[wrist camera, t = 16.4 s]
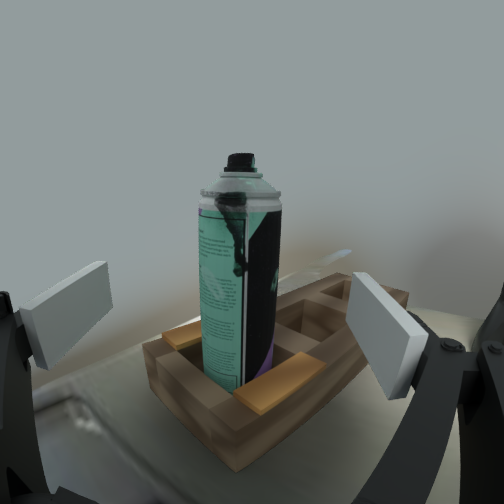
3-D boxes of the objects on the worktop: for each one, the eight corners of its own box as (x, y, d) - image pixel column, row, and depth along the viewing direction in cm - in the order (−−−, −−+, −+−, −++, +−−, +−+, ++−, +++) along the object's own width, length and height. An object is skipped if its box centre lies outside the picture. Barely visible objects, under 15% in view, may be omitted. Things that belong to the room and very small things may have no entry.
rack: (401, 325, 36) (410, 289, 35) (236, 473, 15) (235, 426, 14) (333, 302, 45) (337, 269, 43) (150, 388, 24) (141, 339, 22)
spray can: (276, 415, 21) (297, 153, 16) (211, 425, 20) (204, 148, 15) (258, 377, 26) (268, 158, 22) (202, 384, 25) (196, 155, 20)
